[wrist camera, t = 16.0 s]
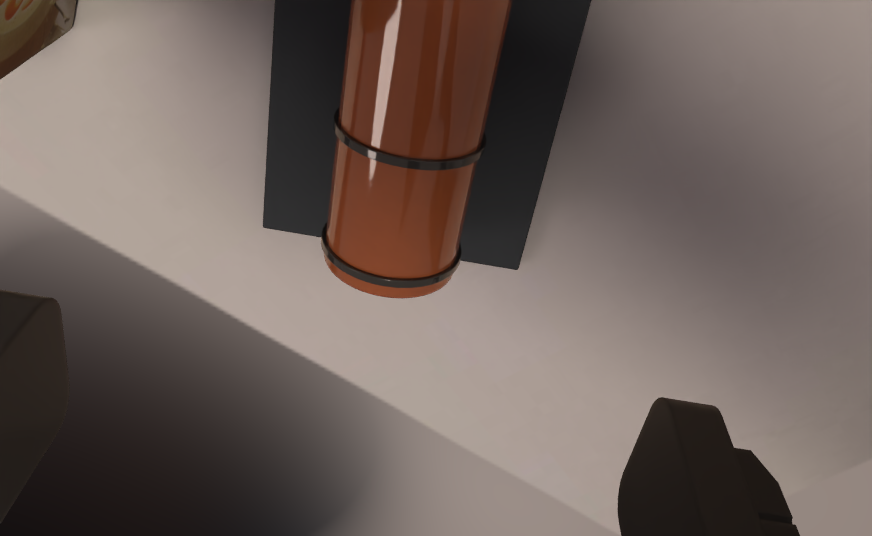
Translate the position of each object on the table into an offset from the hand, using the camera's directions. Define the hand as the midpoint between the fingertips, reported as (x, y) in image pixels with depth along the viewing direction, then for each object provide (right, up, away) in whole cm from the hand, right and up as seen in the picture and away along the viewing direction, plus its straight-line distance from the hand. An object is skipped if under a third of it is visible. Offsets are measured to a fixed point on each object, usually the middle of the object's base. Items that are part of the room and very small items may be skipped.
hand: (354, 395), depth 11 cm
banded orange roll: (+1, +10, +15) cm, 18 cm away
